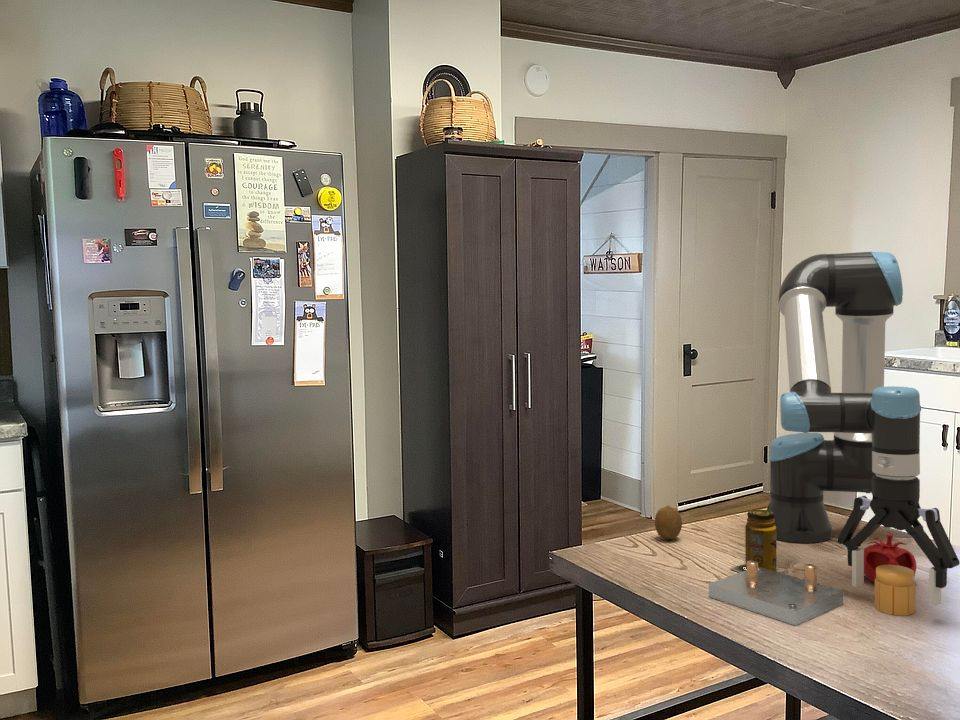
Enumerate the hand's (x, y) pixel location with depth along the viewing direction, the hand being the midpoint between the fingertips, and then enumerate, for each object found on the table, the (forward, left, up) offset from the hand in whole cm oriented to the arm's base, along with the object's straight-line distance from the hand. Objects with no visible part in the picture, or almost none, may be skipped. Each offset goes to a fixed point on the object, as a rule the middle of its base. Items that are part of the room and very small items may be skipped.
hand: (895, 594), depth 145 cm
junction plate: (+12, -16, -3) cm, 20 cm away
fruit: (-3, -54, -3) cm, 54 cm away
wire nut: (0, 0, -3) cm, 3 cm away
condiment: (0, -28, -3) cm, 28 cm away
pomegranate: (-13, -8, -3) cm, 16 cm away
